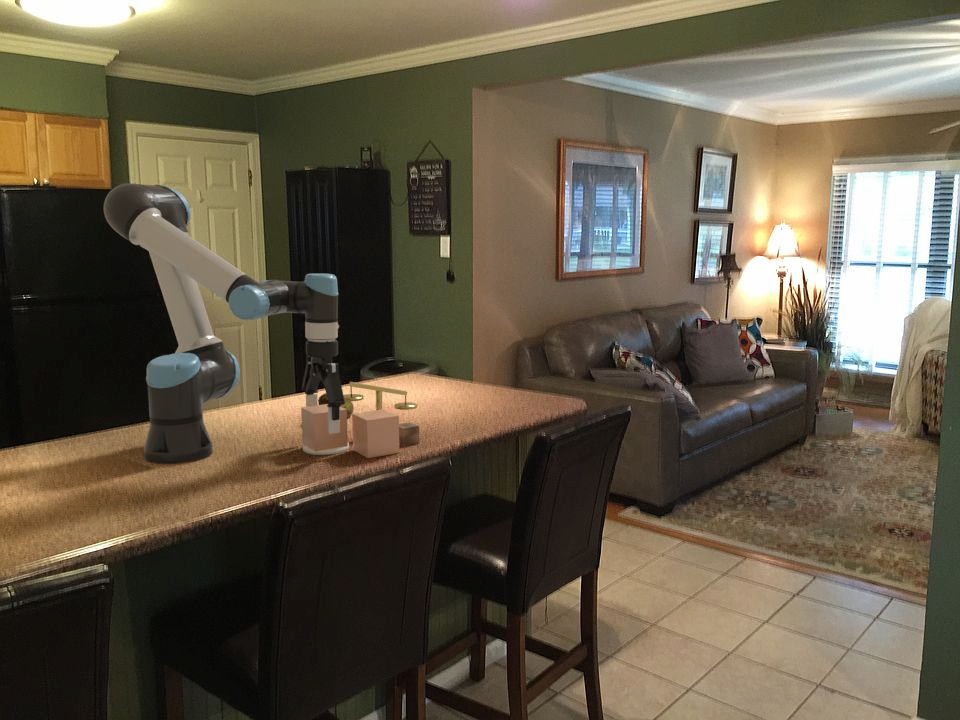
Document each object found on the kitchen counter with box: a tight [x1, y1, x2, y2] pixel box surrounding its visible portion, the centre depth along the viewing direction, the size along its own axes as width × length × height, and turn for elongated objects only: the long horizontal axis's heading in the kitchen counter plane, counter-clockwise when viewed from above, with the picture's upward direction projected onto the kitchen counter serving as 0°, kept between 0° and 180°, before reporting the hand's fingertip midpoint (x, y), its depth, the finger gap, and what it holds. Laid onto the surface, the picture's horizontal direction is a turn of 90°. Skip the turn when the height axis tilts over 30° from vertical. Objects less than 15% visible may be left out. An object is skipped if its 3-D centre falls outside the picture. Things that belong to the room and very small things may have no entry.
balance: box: [343, 381, 418, 411], centre depth 207 cm, size 21×6×15 cm, turn 124°
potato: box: [317, 392, 354, 418], centre depth 225 cm, size 8×13×8 cm, turn 139°
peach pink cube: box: [300, 404, 349, 451], centre depth 194 cm, size 8×8×9 cm
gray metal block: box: [399, 422, 420, 447], centre depth 200 cm, size 4×4×4 cm
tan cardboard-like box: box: [351, 408, 400, 459], centre depth 192 cm, size 8×8×9 cm
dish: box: [302, 442, 350, 456], centre depth 195 cm, size 11×11×1 cm
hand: (322, 426), depth 194 cm, fingers open, 13 cm apart
